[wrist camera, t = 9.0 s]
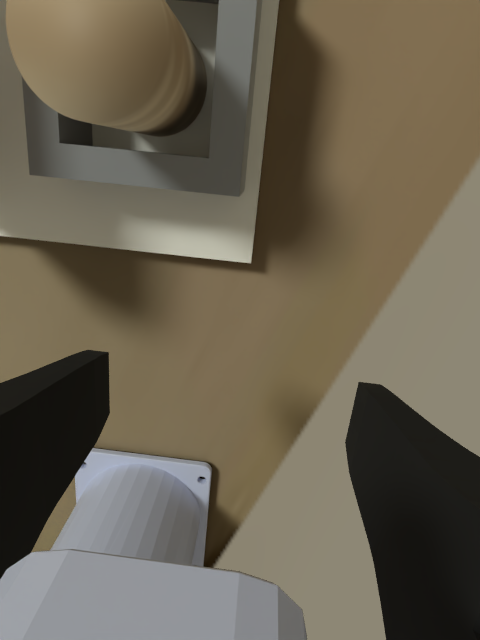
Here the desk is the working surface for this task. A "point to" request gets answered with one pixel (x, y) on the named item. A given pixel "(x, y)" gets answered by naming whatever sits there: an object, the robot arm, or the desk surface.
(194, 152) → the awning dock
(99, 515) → the robot arm
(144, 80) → the maple peg
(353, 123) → the desk surface
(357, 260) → the desk surface
